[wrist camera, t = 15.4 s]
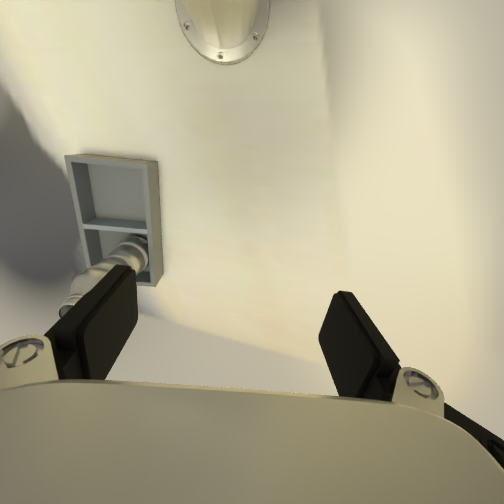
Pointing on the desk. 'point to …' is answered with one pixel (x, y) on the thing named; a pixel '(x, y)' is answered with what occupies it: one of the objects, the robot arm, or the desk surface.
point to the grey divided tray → (117, 207)
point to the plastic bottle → (108, 268)
